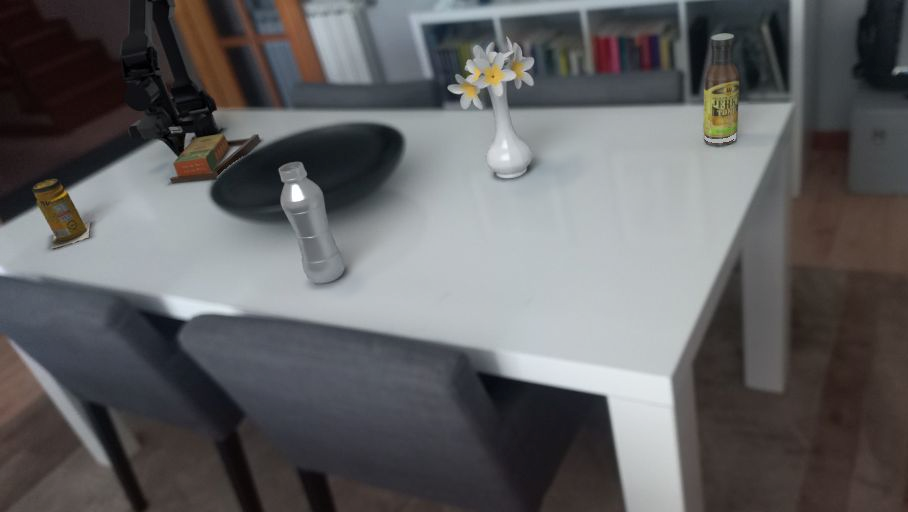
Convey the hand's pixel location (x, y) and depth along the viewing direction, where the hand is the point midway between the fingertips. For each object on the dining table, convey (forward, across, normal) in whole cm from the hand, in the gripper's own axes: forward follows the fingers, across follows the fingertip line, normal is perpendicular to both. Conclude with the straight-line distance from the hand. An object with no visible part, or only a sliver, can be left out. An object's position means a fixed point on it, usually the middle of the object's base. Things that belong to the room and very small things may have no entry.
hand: (181, 158), depth 181 cm
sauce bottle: (0, +127, -16) cm, 128 cm away
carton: (+2, +6, 0) cm, 6 cm away
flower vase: (0, +87, -22) cm, 90 cm away
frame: (+2, +9, 0) cm, 9 cm away
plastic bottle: (+1, +61, -58) cm, 84 cm away
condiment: (+2, -7, -35) cm, 36 cm away
